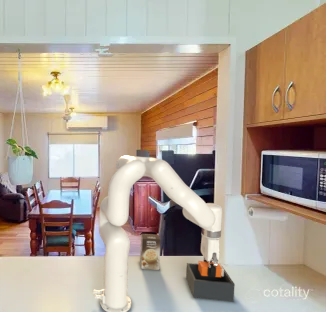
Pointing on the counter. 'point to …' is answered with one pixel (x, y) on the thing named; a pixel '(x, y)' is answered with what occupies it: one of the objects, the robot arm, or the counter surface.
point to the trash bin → (209, 285)
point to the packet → (204, 269)
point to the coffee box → (150, 251)
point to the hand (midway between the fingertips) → (209, 271)
